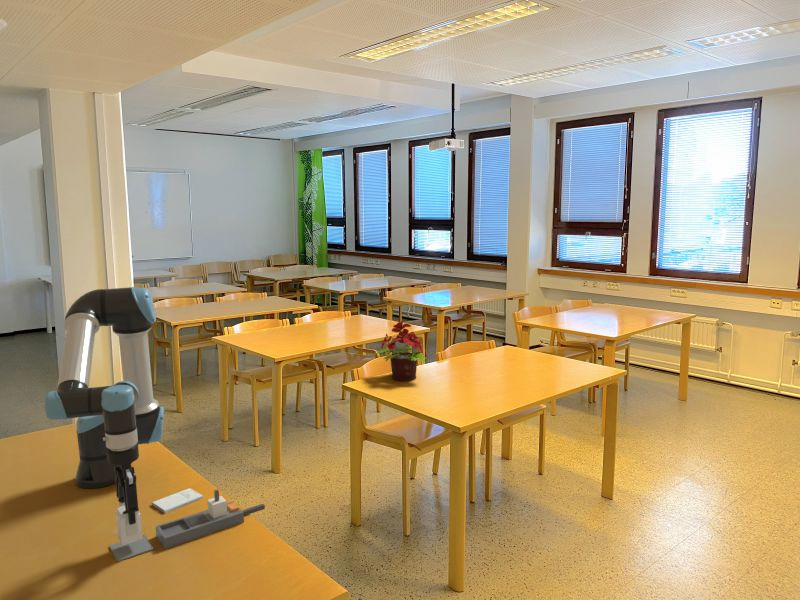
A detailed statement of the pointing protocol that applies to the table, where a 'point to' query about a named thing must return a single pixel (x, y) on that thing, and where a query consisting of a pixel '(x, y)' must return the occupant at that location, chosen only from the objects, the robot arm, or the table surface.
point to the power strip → (203, 522)
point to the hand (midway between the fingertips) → (129, 529)
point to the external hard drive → (177, 500)
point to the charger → (122, 527)
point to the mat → (130, 549)
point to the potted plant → (403, 353)
